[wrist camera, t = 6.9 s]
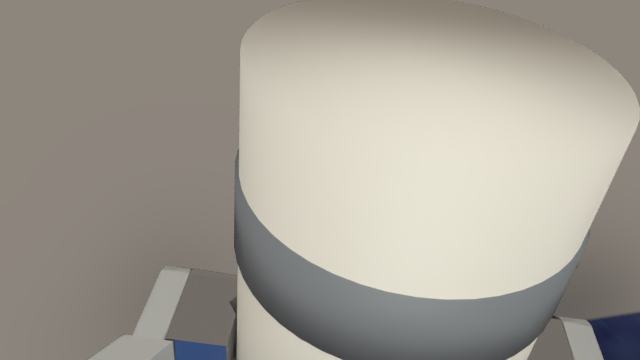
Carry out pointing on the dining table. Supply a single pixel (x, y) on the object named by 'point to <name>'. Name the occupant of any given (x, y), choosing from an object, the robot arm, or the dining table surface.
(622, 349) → the dining table surface
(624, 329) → the dining table surface
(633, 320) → the dining table surface
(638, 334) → the dining table surface
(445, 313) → the grooved cream capsule
